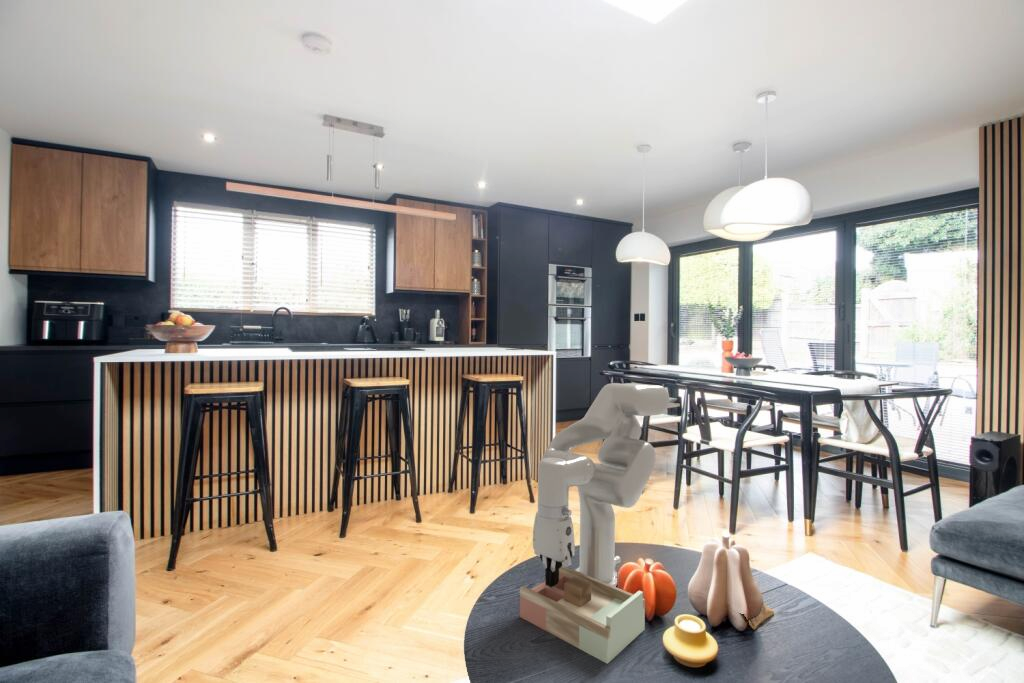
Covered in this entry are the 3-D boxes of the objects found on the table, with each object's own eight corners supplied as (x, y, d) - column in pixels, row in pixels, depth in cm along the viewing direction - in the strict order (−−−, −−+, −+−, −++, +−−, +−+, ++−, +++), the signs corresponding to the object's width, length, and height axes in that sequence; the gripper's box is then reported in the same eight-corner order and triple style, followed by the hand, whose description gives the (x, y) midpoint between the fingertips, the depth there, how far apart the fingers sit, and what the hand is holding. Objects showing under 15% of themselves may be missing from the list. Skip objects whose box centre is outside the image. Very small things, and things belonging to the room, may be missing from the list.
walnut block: (575, 592, 116) (575, 576, 116) (591, 599, 113) (591, 582, 113) (564, 600, 112) (564, 583, 112) (580, 607, 109) (580, 590, 109)
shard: (753, 632, 110) (753, 625, 110) (721, 617, 116) (721, 609, 116) (775, 616, 116) (775, 609, 116) (744, 602, 122) (744, 595, 122)
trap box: (560, 591, 126) (560, 556, 126) (644, 629, 110) (645, 590, 110) (519, 616, 114) (520, 578, 114) (607, 663, 98) (608, 620, 98)
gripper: (587, 513, 115) (586, 589, 115) (539, 498, 125) (538, 568, 126) (568, 522, 110) (567, 602, 110) (520, 506, 120) (519, 579, 120)
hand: (552, 584), depth 118 cm, fingers closed
